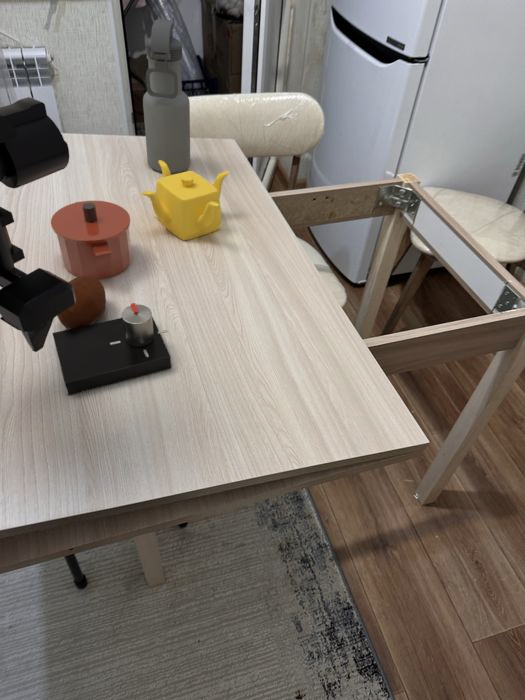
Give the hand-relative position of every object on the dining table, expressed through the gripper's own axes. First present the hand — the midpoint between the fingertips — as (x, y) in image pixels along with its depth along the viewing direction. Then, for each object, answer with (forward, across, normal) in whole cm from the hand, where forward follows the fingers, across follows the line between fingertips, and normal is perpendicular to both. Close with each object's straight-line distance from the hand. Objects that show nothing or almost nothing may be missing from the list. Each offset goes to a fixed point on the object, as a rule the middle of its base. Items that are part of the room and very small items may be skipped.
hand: (10, 331), depth 55 cm
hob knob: (+9, +5, +15) cm, 18 cm away
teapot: (+12, -12, +47) cm, 50 cm away
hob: (+12, +3, +11) cm, 17 cm away
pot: (+12, -16, +27) cm, 33 cm away
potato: (+12, -7, +15) cm, 20 cm away
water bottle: (+12, -31, +63) cm, 71 cm away
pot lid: (+4, -16, +27) cm, 31 cm away
